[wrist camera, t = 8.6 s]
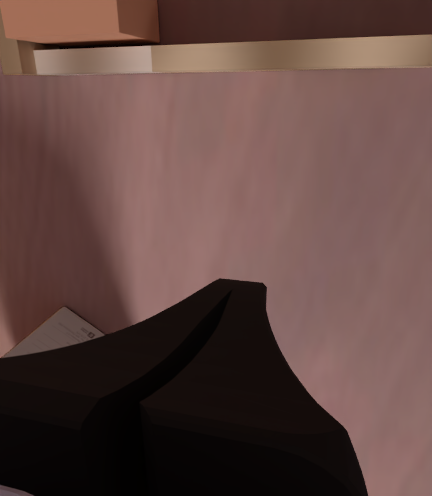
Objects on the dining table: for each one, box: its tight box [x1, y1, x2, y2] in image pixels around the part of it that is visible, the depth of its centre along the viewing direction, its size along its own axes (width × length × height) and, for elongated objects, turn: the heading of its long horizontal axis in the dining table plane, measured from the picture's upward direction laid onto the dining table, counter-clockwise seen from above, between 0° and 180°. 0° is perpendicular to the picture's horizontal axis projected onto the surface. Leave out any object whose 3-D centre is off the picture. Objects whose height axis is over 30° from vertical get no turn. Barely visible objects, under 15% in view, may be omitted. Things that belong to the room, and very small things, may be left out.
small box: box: [2, 307, 105, 358], centre depth 22 cm, size 8×6×13 cm
